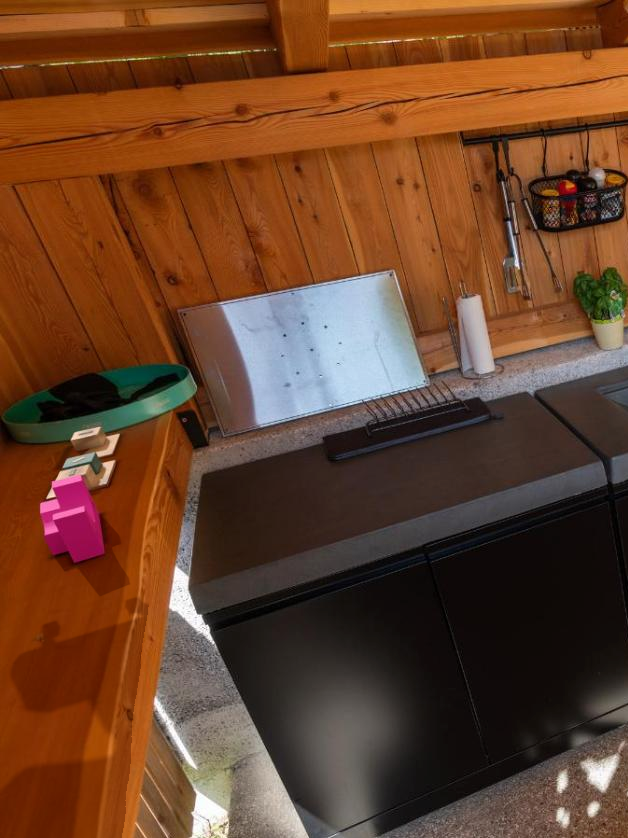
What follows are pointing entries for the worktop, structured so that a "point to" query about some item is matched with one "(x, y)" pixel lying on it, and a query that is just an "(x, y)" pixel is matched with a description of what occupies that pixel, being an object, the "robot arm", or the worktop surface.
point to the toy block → (72, 520)
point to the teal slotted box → (83, 462)
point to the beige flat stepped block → (95, 442)
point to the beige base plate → (89, 476)
